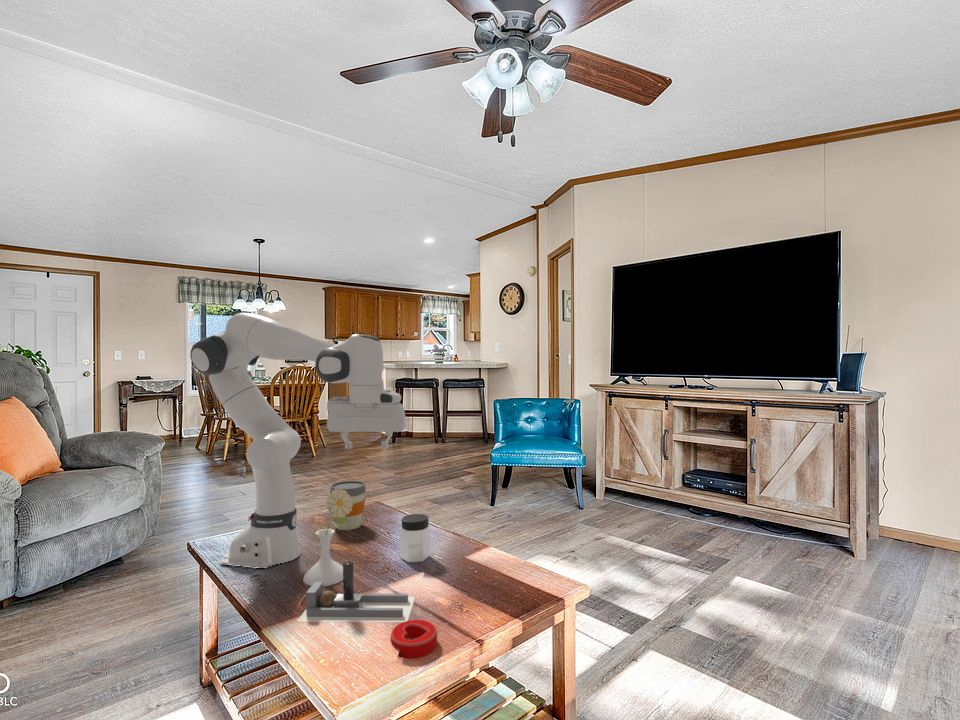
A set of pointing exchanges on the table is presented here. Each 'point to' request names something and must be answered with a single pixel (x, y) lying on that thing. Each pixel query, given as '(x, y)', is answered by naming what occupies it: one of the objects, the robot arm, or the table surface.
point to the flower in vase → (326, 567)
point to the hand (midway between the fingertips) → (366, 448)
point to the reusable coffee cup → (357, 495)
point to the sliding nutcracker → (371, 610)
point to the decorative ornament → (418, 646)
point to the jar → (415, 538)
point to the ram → (348, 590)
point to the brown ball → (327, 599)
